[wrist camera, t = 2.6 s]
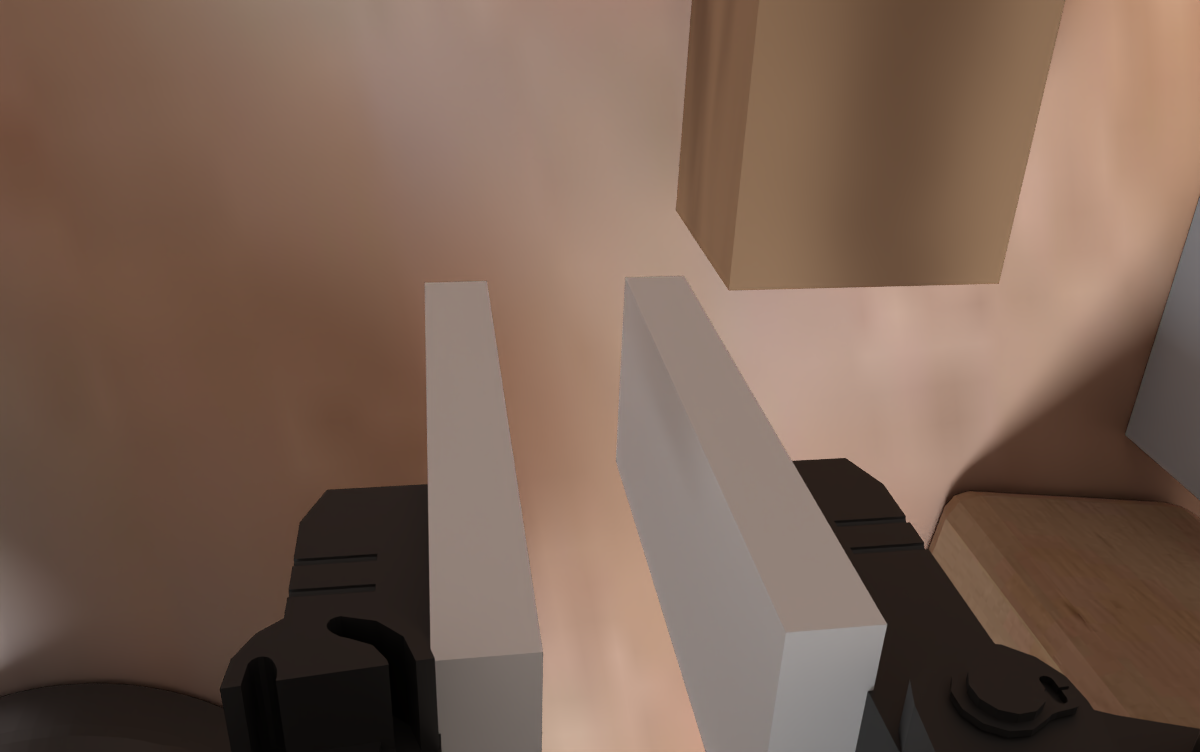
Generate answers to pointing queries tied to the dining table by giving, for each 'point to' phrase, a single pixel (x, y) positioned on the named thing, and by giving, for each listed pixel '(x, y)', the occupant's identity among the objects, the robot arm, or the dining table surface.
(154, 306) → the dining table surface
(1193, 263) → the bar
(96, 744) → the robot arm
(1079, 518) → the wooden block
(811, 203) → the walnut block
